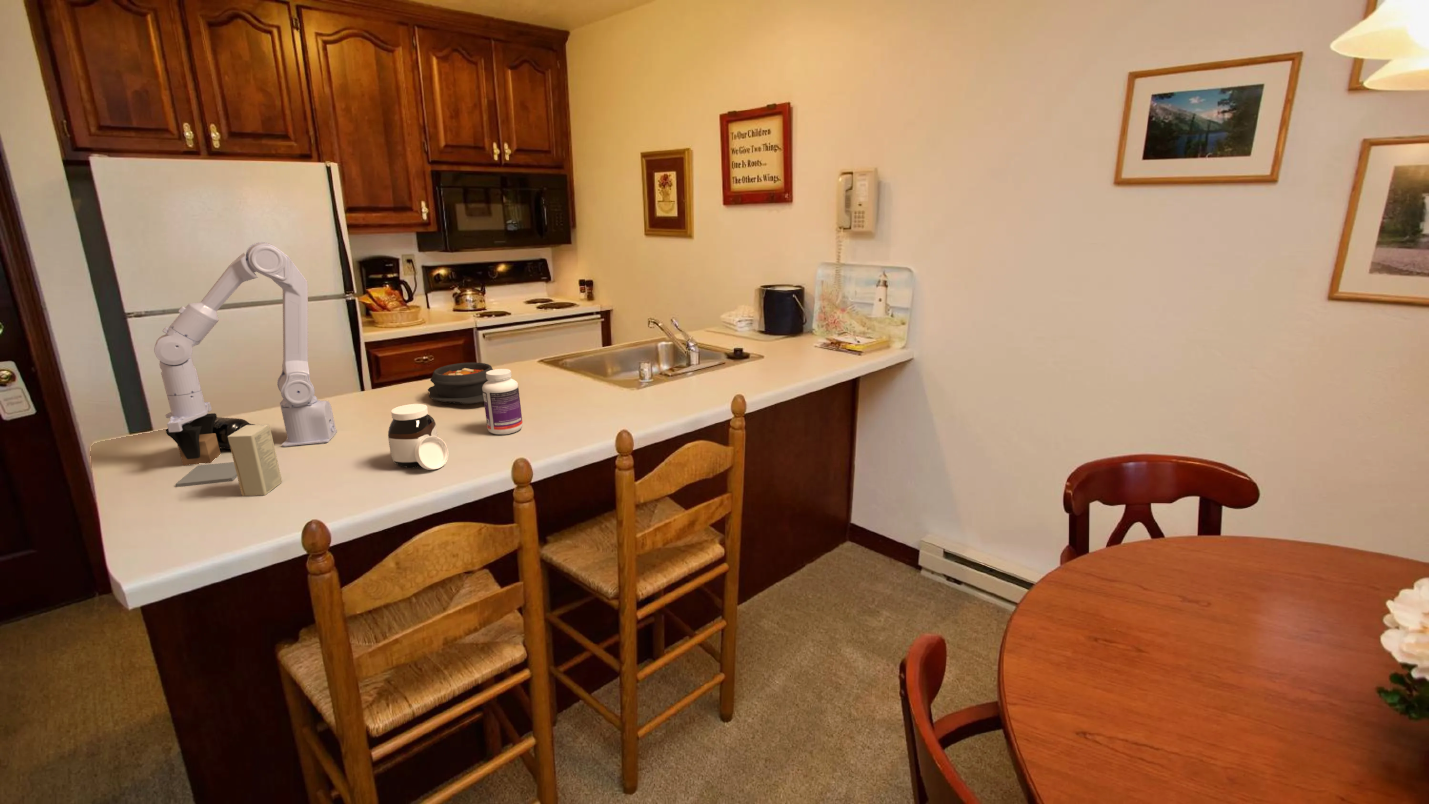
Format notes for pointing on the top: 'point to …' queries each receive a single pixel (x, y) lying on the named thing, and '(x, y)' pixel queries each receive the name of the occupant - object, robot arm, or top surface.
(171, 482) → the top surface
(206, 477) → the slate mat
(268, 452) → the skincare box
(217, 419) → the supplement bottle
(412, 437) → the spread jar
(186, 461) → the walnut cube
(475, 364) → the casserole
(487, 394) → the pill bottle
